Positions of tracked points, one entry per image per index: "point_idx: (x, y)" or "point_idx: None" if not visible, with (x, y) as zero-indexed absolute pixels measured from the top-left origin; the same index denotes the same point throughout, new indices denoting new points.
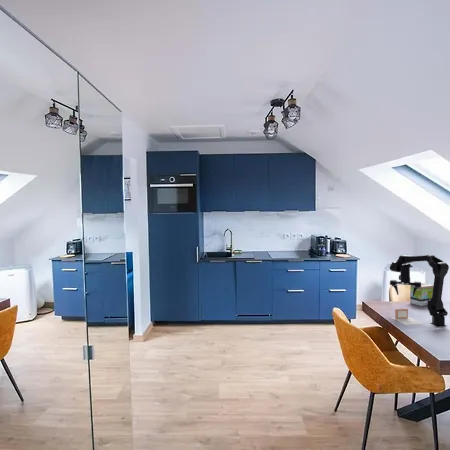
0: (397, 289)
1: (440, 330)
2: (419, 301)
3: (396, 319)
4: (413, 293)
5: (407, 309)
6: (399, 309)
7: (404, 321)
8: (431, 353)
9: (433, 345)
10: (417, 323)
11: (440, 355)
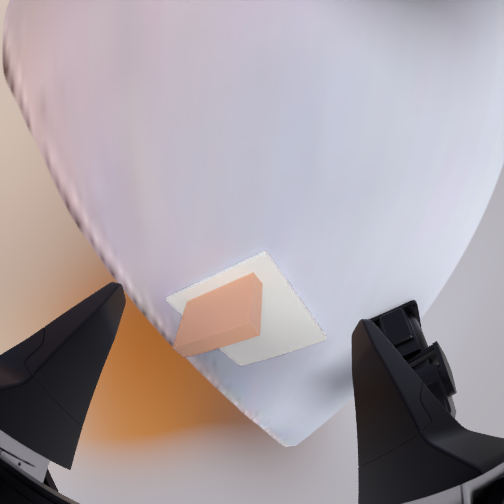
0: (80, 393)
1: None
2: None
3: None
4: (360, 398)
5: (256, 335)
6: (199, 349)
7: None
8: (279, 441)
9: (295, 428)
10: (299, 344)
11: (293, 442)
